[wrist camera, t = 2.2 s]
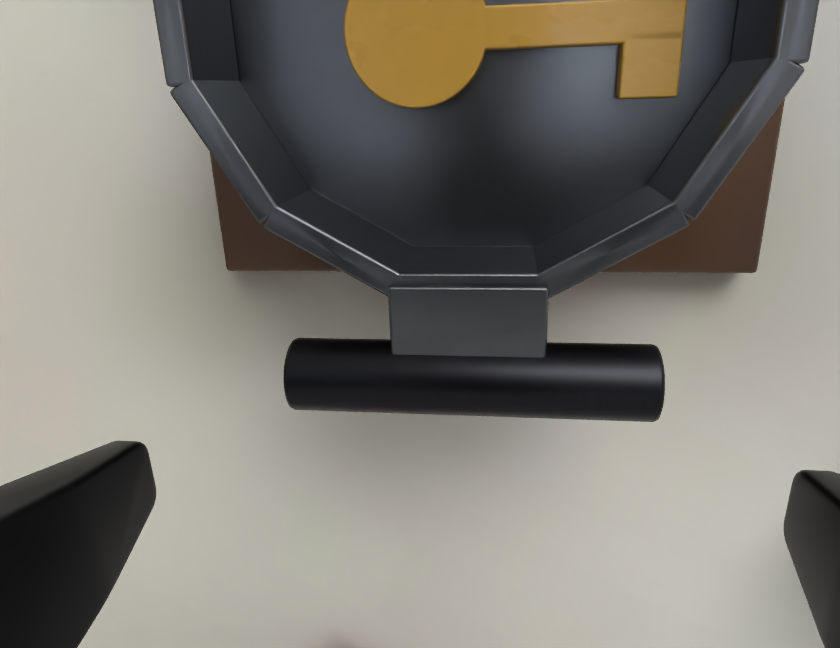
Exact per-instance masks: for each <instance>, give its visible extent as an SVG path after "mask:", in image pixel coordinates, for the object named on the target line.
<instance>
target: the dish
mask: <svg viewBox="0 0 840 648" xmlns="http://www.w3.org/2000/svg"><path fill="white" fill-rule="evenodd" d="M567 1H586V0H484V2H485V5H486V6H490V5H509V4H529V3H548V2H567ZM347 3H348V0H153V4H154V10H155V16H156V23H157V29H158V35H159V41H160V47H161V53H162V59H163V65H164V72H165V78H166V83H167V85H168V86H170V87H175V88H173V89H172V90H171V92H170V93H171V95H172V97H173V98H174V100H175V101H176V103H177V104H178V106H179V107H180V108H181V110H182V111H183V113H184V114H185V116H186V117H187V119H188V120H189V122H190V123H191V125H192V126H193V128H194V129H195V130H196V132H197V133H198V135H199V136H200V138H201V139H202V141H203V142H204V144H205V145H206V147H207V148H208V149H209V151H210V152H211V154H212V155H213V157H214V158H215V160H216V161H217V163H218V164H219V166H220V167H221V169H222V170H223V171H224V173H225V174H226V176H227V177H228V179H229V180H230V182H231V183H232V185H233V186H234V188H235V189H236V190H237V192H238V193H239V195H240V196H241V198H242V199H243V201H244V202H245V204H246V205H247V207H248V208H249V210H250V211H251V212H252V214H253V215H254V217H255V218H256V220H257V221H258V222H259V223H263V222H265V221H266V222H265V224H264V228H265V229H267V230H269V231H270V232H272V233H274V234H276V235H278V236H280V237H281V238H283V239H285V240H287V241H289V242H290V243H292V244H294V245H296V246H298V247H299V248H301V249H303V250H305V251H307V252H309V253H310V254H312V255H314V256H316V257H318V258H319V259H321V260H323V261H325V262H327V263H329V264H330V265H332V266H334V267H336V268H338V269H339V270H341V271H343V272H345V273H347V274H348V275H350V276H352V277H354V278H356V279H358V280H359V281H361V282H363V283H365V284H367V285H368V286H370V287H372V288H374V289H376V290H378V291H379V292H381V293H383V294H385V295H387V296H388V301H389V320H390V339H391V340H387V339H334V338H297V339H295V340H293V341H292V343H291V344H290V346H289V348H288V351H287V355H286V359H285V365H284V390H285V396H286V399H287V402H288V404H289V406H290V407H291V408H293V409H295V410H319V411H349V412H378V413H407V414H436V415H465V416H495V417H524V418H553V419H582V420H611V421H640V422H654V421H656V420H658V419H659V417H660V414H661V411H662V408H663V403H664V395H665V374H664V365H663V360H662V356H661V353H660V351H659V349H658V347H657V346H655V345H652V344H603V343H549V342H547V324H548V300H549V298H551V297H553V296H555V295H557V294H558V293H560V292H562V291H564V290H566V289H568V288H570V287H572V286H574V285H576V284H578V283H580V282H582V281H584V280H585V279H587V278H589V277H591V276H593V275H595V274H597V273H599V272H601V271H603V270H605V269H607V268H609V267H611V266H613V265H614V264H616V263H618V262H620V261H622V260H624V259H626V258H628V257H630V256H632V255H634V254H636V253H638V252H640V251H642V250H643V249H645V248H647V247H649V246H651V245H653V244H655V243H657V242H659V241H661V240H663V239H665V238H667V237H669V236H670V235H672V234H674V233H676V232H678V231H680V230H682V229H684V228H686V227H688V226H689V221H688V219H687V218H689V219H691V220H695V219H697V217H698V216H699V215H700V213H701V212H702V211H703V209H704V208H705V206H706V205H707V204H708V202H709V201H710V200H711V198H712V197H713V195H714V194H715V193H716V191H717V190H718V189H719V187H720V186H721V184H722V183H723V182H724V180H725V179H726V178H727V176H728V175H729V173H730V172H731V171H732V169H733V168H734V167H735V165H736V164H737V163H738V161H739V160H740V158H741V157H742V156H743V154H744V153H745V152H746V150H747V149H748V147H749V146H750V145H751V143H752V142H753V141H754V139H755V138H756V136H757V135H758V134H759V132H760V131H761V130H762V128H763V127H764V126H765V124H766V123H767V121H768V120H769V119H770V117H771V116H772V115H773V113H774V112H775V110H776V109H777V108H778V106H779V105H780V104H781V102H782V101H783V99H784V98H785V97H786V95H787V94H788V93H789V91H790V90H791V89H792V87H793V86H794V84H795V83H796V82H797V80H798V79H799V78H800V76H801V75H802V73H803V72H804V68H803V67H802V66H801V65H799V64H801V63H806V62H808V60H809V56H810V51H811V45H812V39H813V33H814V27H815V22H816V16H817V10H818V4H819V0H687V10H686V19H685V29H684V38H683V48H682V57H681V66H680V76H679V85H678V95H677V96H676V97H674V98H645V99H617V98H616V86H617V73H618V59H619V46H620V45H607V46H583V47H560V48H536V49H513V50H489V51H486V53H485V56H484V59H483V61H482V64H481V66H480V68H479V70H478V71H477V73H476V75H475V76H474V78H473V79H472V80H471V82H470V83H469V84H468V85H467V86H466V87H465V88H464V89H463V90H462V91H461V92H460V93H458V94H457V95H456V96H454V97H453V98H451V99H449V100H448V101H446V102H443V103H441V104H438V105H435V106H431V107H427V108H405V107H399V106H396V105H393V104H390V103H388V102H386V101H384V100H382V99H381V98H379V97H378V96H376V95H375V94H374V93H373V92H371V91H370V90H369V89H368V88H367V87H366V86H365V85H364V84H363V82H362V81H361V80H360V78H359V77H358V76H357V74H356V72H355V71H354V69H353V67H352V65H351V62H350V60H349V57H348V54H347V50H346V46H345V39H344V18H345V11H346V7H347Z"/></svg>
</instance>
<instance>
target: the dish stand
mask: <svg viewBox="0 0 840 648" xmlns="http://www.w3.org/2000/svg"><path fill="white" fill-rule="evenodd" d="M784 100H785V98H784V99H783V101H782V102H781V104H780V105H779V106H778V108H777V109H776V110H775V112H774V113H773V115H772V116H771V117H770V119H769V120H768V121H767V123H766V124H765V126H764V127H763V128H762V130H761V131H760V132H759V134H758V135H757V136H756V138H755V139H754V141H753V142H752V143H751V145H750V146H749V147H748V149H747V150H746V152H745V153H744V154H743V156H742V157H741V158H740V160H739V161H738V163H737V164H736V165H735V167H734V168H733V169H732V171H731V172H730V173H729V175H728V176H727V178H726V179H725V180H724V182H723V183H722V184H721V186H720V187H719V189H718V190H717V191H716V193H715V194H714V195H713V197H712V198H711V200H710V201H709V202H708V204H707V205H706V206H705V208H704V209H703V211H702V212H701V213H700V215H699V216H698V217H697V219H695V220H691V219H689V218H687V219H688V221H689V226H688V227H686V228H684V229H682V230H680V231H678V232H676V233H674V234H672V235H670V236H669V237H667V238H665V239H663V240H661V241H659V242H657V243H655V244H653V245H651V246H649V247H647V248H645V249H643V250H642V251H640V252H638V253H636V254H634V255H632V256H630V257H628V258H626V259H624V260H622V261H620V262H618V263H616V264H614V265H613V266H611V267H609V268H607V269H605V270H603V271H601V272H644V273H753V272H756V270H757V266H758V260H759V254H760V248H761V242H762V236H763V229H764V223H765V217H766V211H767V205H768V199H769V192H770V186H771V180H772V174H773V168H774V162H775V156H776V149H777V143H778V137H779V131H780V125H781V119H782V112H783V106H784ZM210 157H211V164H212V171H213V177H214V184H215V191H216V198H217V205H218V212H219V219H220V225H221V232H222V239H223V246H224V253H225V260H226V267H227V269H228V270H230V271H341V270H339V269H338V268H336V267H334V266H332V265H330V264H329V263H327V262H325V261H323V260H321V259H319V258H318V257H316V256H314V255H312V254H310V253H309V252H307V251H305V250H303V249H301V248H299V247H298V246H296V245H294V244H292V243H290V242H289V241H287V240H285V239H283V238H281V237H280V236H278V235H276V234H274V233H272V232H270V231H269V230H267V229H265V228H264V224H265V222H266V221H265V222H263V223H259V222H258V221H257V220H256V218H255V217H254V215H253V214H252V212H251V211H250V210H249V208H248V207H247V205H246V204H245V202H244V201H243V199H242V198H241V196H240V195H239V193H238V192H237V190H236V189H235V188H234V186H233V185H232V183H231V182H230V180H229V179H228V177H227V176H226V174H225V173H224V171H223V170H222V169H221V167H220V166H219V164H218V163H217V161H216V160H215V158H214V157H213V155H212V154H211V152H210Z"/></svg>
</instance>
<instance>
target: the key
mask: <svg viewBox="0 0 840 648" xmlns="http://www.w3.org/2000/svg"><path fill="white" fill-rule="evenodd" d="M686 10H687V0H586V1H567V2H548V3H529V4H509V5H490V6H486V5H485V2H484V0H348V3H347V7H346V11H345V18H344V39H345V46H346V50H347V54H348V57H349V60H350V62H351V65H352V67H353V69H354V71H355V72H356V74H357V76H358V77H359V78H360V80H361V81H362V82H363V84H364V85H365V86H366V87H367V88H368V89H369V90H370V91H371V92H373V93H374V94H375V95H376V96H378V97H379V98H381V99H382V100H384V101H386V102H388V103H390V104H393V105H396V106H399V107H405V108H427V107H431V106H435V105H438V104H441V103H443V102H446V101H448V100H449V99H451V98H453V97H454V96H456V95H457V94H458V93H460V92H461V91H462V90H463V89H464V88H465V87H466V86H467V85H468V84H469V83H470V82H471V80H472V79H473V78H474V76H475V75H476V73H477V71H478V70H479V68H480V66H481V64H482V61H483V59H484V56H485V53H486V51H489V50H513V49H536V48H560V47H583V46H607V45H620V46H619V59H618V73H617V86H616V98H617V99H645V98H674V97H676V96H677V95H678V85H679V76H680V66H681V57H682V48H683V38H684V29H685V19H686Z"/></svg>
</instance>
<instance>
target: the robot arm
mask: <svg viewBox="0 0 840 648" xmlns="http://www.w3.org/2000/svg"><path fill="white" fill-rule="evenodd" d="M155 499H156V486H155V481H154V477H153V472H152V467H151V462H150V458H149V453H148V450H147V448H146V446H145V445H144V444H143V443H141V442H135V441H114V442H111V443H108V444H106V445H103V446H101V447H98V448H96V449H93V450H91V451H88V452H86V453H83V454H80V455H78V456H75V457H73V458H70V459H68V460H65V461H63V462H60V463H58V464H55V465H53V466H50V467H48V468H45V469H42V470H40V471H37V472H35V473H32V474H30V475H27V476H25V477H22V478H20V479H17V480H15V481H12V482H9V483H7V484H4V485H2V486H0V648H77V647H78V646H79V644H80V642H81V641H82V639H83V637H84V636H85V634H86V633H87V631H88V629H89V628H90V626H91V625H92V623H93V621H94V620H95V618H96V617H97V615H98V613H99V612H100V610H101V608H102V607H103V605H104V603H105V602H106V600H107V598H108V596H109V594H110V592H111V591H112V589H113V587H114V585H115V583H116V581H117V579H118V577H119V575H120V573H121V571H122V569H123V567H124V565H125V563H126V561H127V559H128V557H129V555H130V553H131V551H132V549H133V547H134V545H135V543H136V541H137V539H138V537H139V535H140V533H141V531H142V529H143V527H144V525H145V523H146V521H147V519H148V517H149V515H150V512H151V510H152V508H153V506H154V503H155ZM784 536H785V541H786V544H787V547H788V549H789V552H790V555H791V558H792V560H793V563H794V566H795V568H796V571H797V574H798V577H799V579H800V582H801V585H802V588H803V590H804V593H805V596H806V599H807V601H808V604H809V607H810V609H811V612H812V615H813V618H814V620H815V623H816V626H817V629H818V631H819V634H820V637H821V639H822V642H823V644H824V647H825V648H840V474H838V473H835V472H831V471H815V470H802V471H800V472H798V473H797V474H796V475H795V477H794V479H793V482H792V487H791V491H790V496H789V501H788V506H787V510H786V515H785V520H784Z"/></svg>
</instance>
